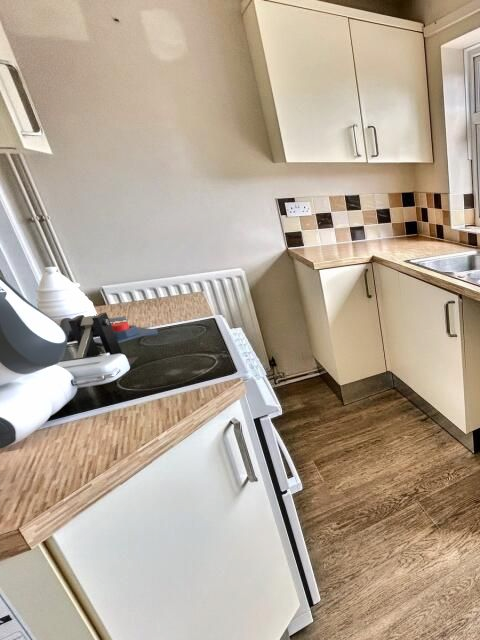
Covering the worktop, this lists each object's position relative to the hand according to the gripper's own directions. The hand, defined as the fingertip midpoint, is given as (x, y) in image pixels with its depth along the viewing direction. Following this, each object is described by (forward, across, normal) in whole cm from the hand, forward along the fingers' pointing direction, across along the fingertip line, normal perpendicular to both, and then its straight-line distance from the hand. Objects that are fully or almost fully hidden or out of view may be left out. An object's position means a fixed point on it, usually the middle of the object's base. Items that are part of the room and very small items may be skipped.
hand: (77, 360), depth 87 cm
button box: (+36, +5, +7) cm, 37 cm away
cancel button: (+36, +5, +4) cm, 37 cm away
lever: (+6, 0, -1) cm, 6 cm away
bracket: (+10, 0, +7) cm, 12 cm away
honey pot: (+68, +29, +7) cm, 74 cm away
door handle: (+53, +18, +7) cm, 57 cm away
